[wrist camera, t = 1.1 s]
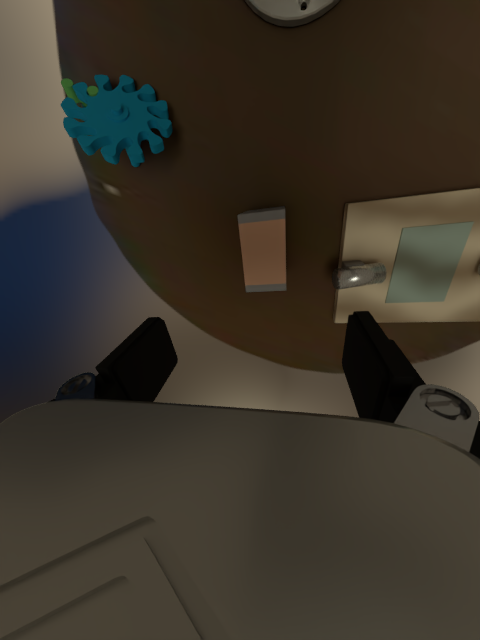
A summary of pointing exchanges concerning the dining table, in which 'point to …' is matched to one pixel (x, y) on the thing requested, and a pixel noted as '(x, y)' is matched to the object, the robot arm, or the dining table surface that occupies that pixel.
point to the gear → (115, 118)
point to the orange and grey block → (263, 249)
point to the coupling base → (414, 257)
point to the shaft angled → (358, 276)
